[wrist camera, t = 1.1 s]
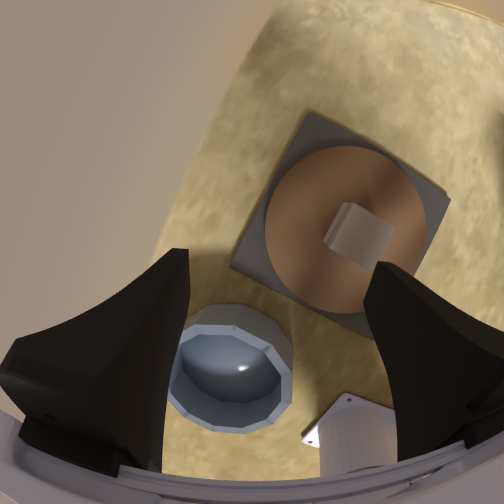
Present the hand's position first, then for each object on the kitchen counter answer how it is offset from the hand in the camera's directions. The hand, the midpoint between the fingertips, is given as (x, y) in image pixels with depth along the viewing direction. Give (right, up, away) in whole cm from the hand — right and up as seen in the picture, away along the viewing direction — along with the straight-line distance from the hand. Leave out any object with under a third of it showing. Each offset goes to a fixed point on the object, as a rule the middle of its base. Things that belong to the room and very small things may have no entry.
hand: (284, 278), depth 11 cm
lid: (+6, +3, +11) cm, 13 cm away
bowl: (-3, -9, +15) cm, 18 cm away
